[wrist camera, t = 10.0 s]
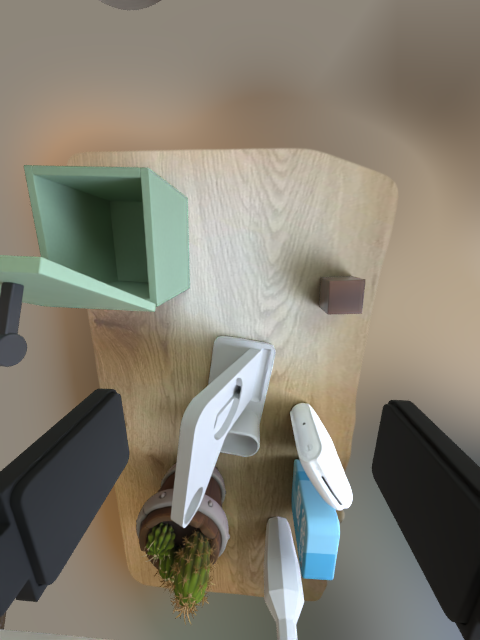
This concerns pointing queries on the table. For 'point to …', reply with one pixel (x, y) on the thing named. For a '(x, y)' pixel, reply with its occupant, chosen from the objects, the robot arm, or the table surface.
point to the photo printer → (320, 457)
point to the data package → (313, 528)
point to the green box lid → (50, 297)
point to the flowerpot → (184, 540)
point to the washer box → (113, 226)
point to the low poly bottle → (282, 578)
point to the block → (342, 295)
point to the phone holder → (221, 418)
